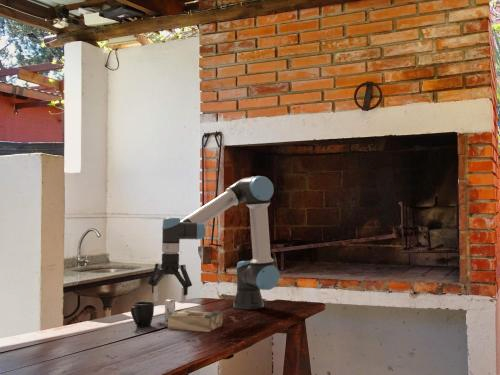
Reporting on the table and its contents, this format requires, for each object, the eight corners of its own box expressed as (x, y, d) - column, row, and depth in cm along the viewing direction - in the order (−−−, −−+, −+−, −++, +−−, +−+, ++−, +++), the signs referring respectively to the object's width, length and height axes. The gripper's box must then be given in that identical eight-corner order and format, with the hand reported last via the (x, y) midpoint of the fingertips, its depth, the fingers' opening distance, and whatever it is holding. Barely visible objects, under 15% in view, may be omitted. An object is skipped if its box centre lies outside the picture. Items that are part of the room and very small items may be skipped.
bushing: (167, 319, 245) (167, 298, 245) (176, 320, 243) (176, 299, 244) (163, 321, 241) (163, 300, 241) (172, 321, 239) (172, 300, 240)
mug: (123, 328, 225) (123, 304, 226) (142, 323, 236) (142, 300, 236) (139, 330, 221) (139, 306, 222) (157, 325, 232) (157, 302, 232)
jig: (183, 322, 239) (183, 307, 239) (222, 325, 233) (222, 310, 233) (167, 328, 226) (167, 313, 226) (208, 331, 219) (208, 315, 220)
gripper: (141, 252, 244) (139, 301, 243) (192, 254, 236) (191, 305, 234) (149, 251, 251) (148, 298, 250) (200, 253, 243) (199, 302, 241)
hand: (169, 302), depth 242 cm, fingers open, 13 cm apart
